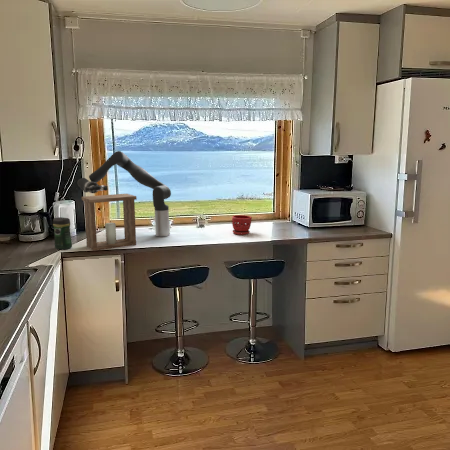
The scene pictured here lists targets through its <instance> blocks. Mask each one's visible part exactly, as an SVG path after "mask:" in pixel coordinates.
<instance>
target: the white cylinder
mask: <svg viewBox="0 0 450 450" xmlns="http://www.w3.org/2000/svg"><path fill="white" fill-rule="evenodd" d="M116 225H117V224H116V222H106V223H105V225H104V228H105V241H106V244H115V243H117V242H116V240H117V230H116V229H117V227H116Z"/></svg>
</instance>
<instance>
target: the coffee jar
mask: <svg viewBox="0 0 450 450" xmlns="http://www.w3.org/2000/svg"><path fill="white" fill-rule="evenodd" d="M52 226H53V231H54V233H53V234H54V249H56V250H62V249H63V250H70V249H71V248H73V243H72V242H73V241H72V236H71V219H70V218H68V217H63V216H62V217H61V216H59V217H54V218H53V219H52Z"/></svg>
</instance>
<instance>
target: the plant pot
mask: <svg viewBox="0 0 450 450" xmlns="http://www.w3.org/2000/svg"><path fill="white" fill-rule="evenodd" d="M231 218H232V219H231V223H232V224H231V225H232V228H233V230H232V233H233V234H234V235H238V236H239V235H240V236H245V235H249V234H250V229H251V225H252V216H249V215H245V214H244V215H243V214H239V215H238V214H236V215H232V217H231Z"/></svg>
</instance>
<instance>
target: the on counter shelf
mask: <svg viewBox="0 0 450 450" xmlns="http://www.w3.org/2000/svg"><path fill="white" fill-rule="evenodd" d="M137 199H138V198H137V196H136V195H133V194H130V193H116V194H101V195H99V194H98V195H90V196H89V195H87V196H81V201H83V205H84V206H83V207H84V220H85V221H84V222H85V223H84V224H85V235H86V236H85V237H86V238H85V239H86V247H88V248H89V249H90V248H91V249H90V250H92V251H93V252H95V251H103V250H108V249H110V250H111V249H116V248H118V249H119V248H123V247H130V246H136V245H137V231H136V230H137V229H136V211H135V209H136V207H135V206H136V205H135V200H136V201H137ZM121 201H122V208H123V230H124V231H123V232H124V238H121V239H120V238H119V239H116V242H117V243H115V244H106V240H103V241H98V240H97V225H96V224H97V222H96V220H97V219H96V208H95V204H97V203H110V202H121Z"/></svg>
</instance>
